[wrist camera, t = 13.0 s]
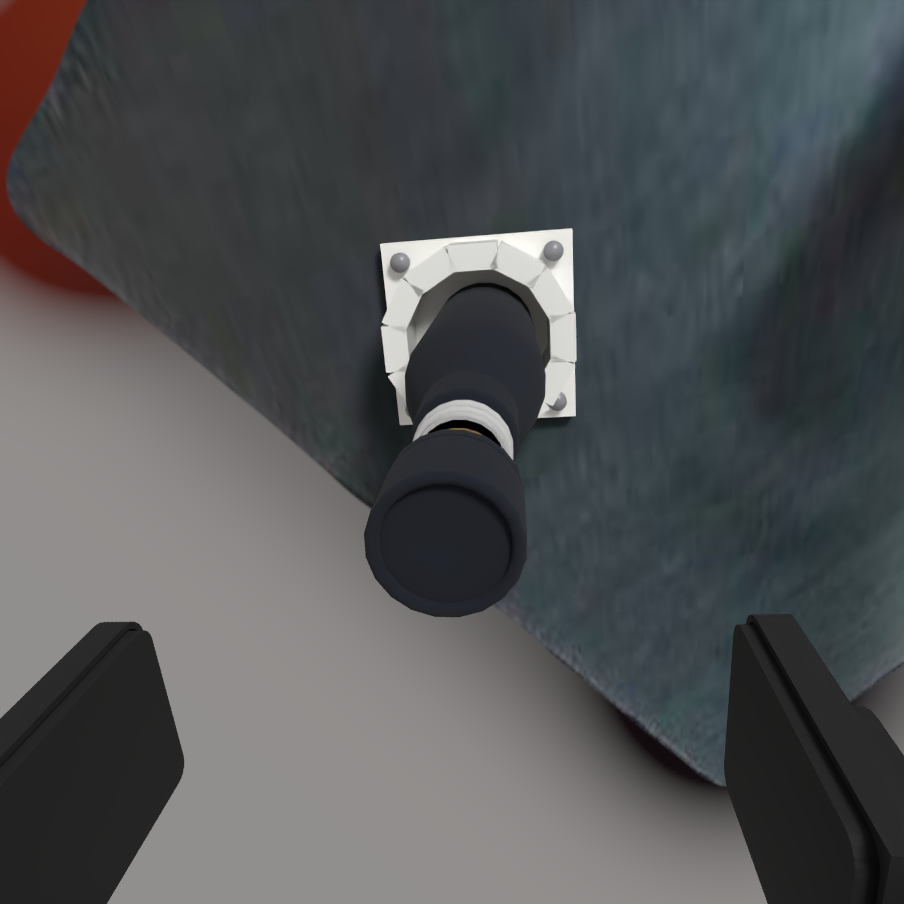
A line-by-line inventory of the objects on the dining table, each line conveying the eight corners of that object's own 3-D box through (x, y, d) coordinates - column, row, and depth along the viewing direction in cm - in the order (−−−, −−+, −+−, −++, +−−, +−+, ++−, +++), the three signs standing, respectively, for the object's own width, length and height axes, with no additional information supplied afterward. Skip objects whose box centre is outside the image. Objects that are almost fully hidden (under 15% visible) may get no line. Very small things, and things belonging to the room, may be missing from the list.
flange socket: (570, 228, 42) (578, 230, 38) (574, 411, 46) (581, 434, 41) (382, 243, 43) (367, 247, 39) (401, 420, 47) (390, 443, 43)
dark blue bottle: (542, 289, 43) (611, 441, 14) (524, 387, 45) (555, 683, 17) (442, 275, 43) (317, 396, 15) (430, 372, 45) (301, 642, 17)
